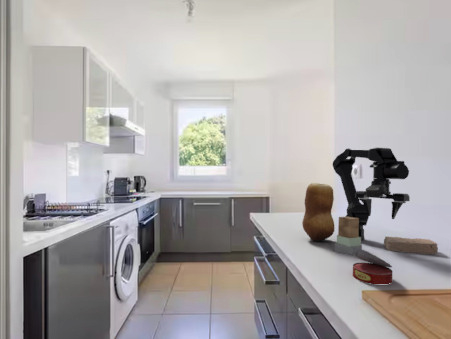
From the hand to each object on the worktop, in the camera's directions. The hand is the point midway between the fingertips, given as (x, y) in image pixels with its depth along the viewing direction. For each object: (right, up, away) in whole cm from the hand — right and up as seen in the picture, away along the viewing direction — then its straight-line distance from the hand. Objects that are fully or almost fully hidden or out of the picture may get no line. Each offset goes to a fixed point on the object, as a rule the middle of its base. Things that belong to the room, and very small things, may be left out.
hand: (380, 217), depth 113 cm
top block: (-16, -9, -7) cm, 20 cm away
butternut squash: (-22, -12, +10) cm, 27 cm away
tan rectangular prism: (-16, -6, -7) cm, 19 cm away
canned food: (-22, -11, -35) cm, 43 cm away
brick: (+9, -13, -3) cm, 16 cm away
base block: (-16, -12, -7) cm, 22 cm away
